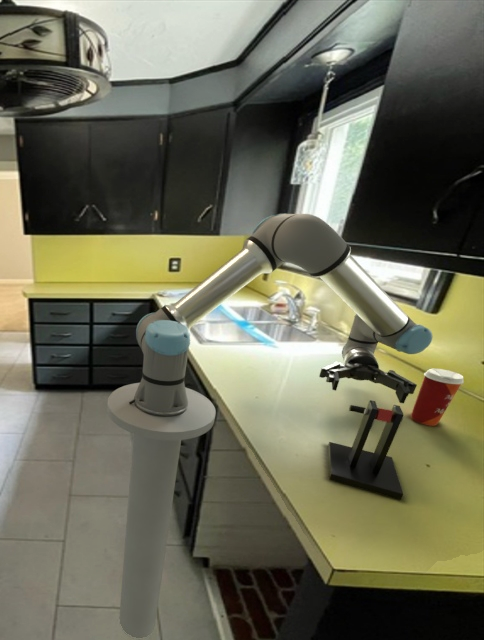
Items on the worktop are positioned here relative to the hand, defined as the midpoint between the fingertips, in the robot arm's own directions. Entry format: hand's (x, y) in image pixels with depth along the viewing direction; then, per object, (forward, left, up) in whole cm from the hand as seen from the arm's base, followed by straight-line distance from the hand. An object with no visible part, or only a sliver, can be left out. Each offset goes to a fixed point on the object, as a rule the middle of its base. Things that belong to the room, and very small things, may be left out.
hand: (368, 391), depth 88 cm
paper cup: (+20, +14, -12) cm, 27 cm away
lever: (-2, -14, -1) cm, 14 cm away
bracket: (-3, -18, -12) cm, 22 cm away
